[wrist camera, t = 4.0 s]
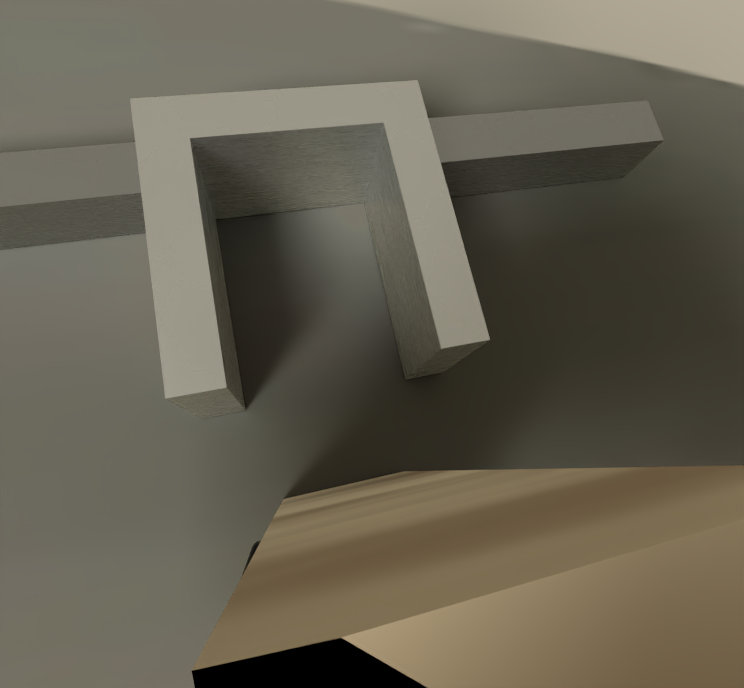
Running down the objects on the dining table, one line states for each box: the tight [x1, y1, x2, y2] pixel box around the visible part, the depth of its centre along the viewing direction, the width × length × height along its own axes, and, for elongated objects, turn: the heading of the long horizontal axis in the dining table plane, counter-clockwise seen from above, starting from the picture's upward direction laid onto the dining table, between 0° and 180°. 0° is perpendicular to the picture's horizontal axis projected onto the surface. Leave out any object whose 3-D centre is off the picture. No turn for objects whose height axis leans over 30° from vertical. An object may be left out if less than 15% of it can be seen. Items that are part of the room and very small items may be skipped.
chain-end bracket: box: [0, 80, 664, 419], centre depth 15 cm, size 9×28×4 cm, turn 102°
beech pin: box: [192, 465, 744, 688], centre depth 9 cm, size 4×4×14 cm
